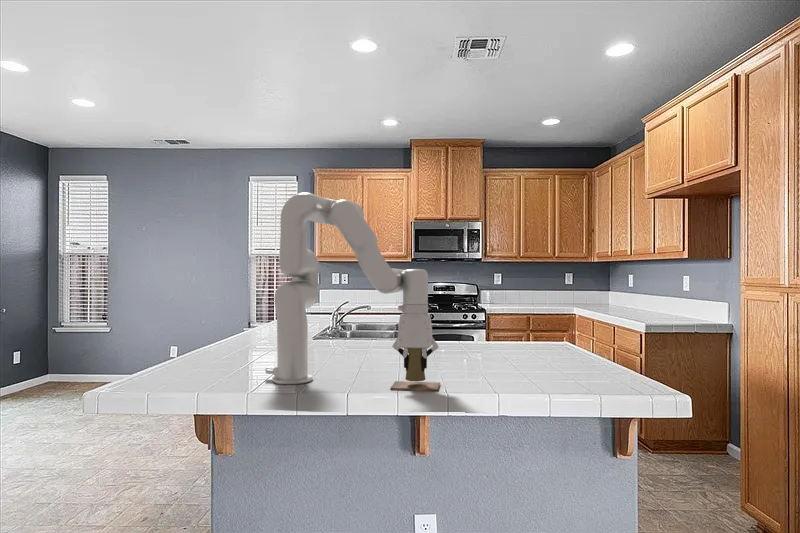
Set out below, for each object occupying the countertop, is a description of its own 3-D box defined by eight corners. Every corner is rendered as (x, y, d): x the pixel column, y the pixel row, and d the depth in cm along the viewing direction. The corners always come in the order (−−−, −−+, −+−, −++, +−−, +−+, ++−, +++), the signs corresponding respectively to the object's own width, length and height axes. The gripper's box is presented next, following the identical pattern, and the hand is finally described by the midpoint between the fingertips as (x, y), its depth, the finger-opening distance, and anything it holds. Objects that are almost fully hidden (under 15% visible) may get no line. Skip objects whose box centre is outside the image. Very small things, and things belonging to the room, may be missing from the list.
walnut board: (390, 389, 156) (390, 387, 156) (395, 383, 165) (395, 381, 165) (437, 391, 154) (437, 389, 154) (440, 384, 163) (440, 382, 163)
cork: (425, 377, 162) (425, 341, 162) (424, 381, 156) (424, 344, 156) (406, 376, 163) (406, 341, 163) (404, 381, 157) (404, 344, 157)
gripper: (385, 310, 157) (385, 372, 157) (442, 311, 155) (442, 373, 155) (390, 308, 164) (390, 367, 164) (444, 309, 162) (443, 369, 162)
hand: (415, 369), depth 159 cm, fingers closed on cork, 4 cm apart
